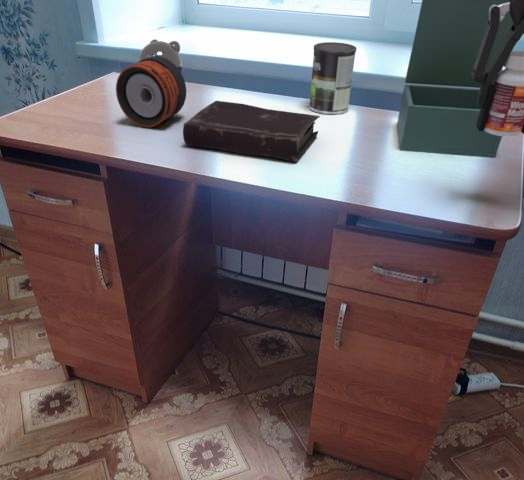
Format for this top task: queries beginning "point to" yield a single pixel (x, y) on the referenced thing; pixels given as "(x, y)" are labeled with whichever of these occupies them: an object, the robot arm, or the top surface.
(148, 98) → the oil filter
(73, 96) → the top surface
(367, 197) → the top surface
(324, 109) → the coffee can
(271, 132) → the diary
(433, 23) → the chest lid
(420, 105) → the chest
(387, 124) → the top surface
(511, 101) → the pill bottle
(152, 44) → the piggy bank
